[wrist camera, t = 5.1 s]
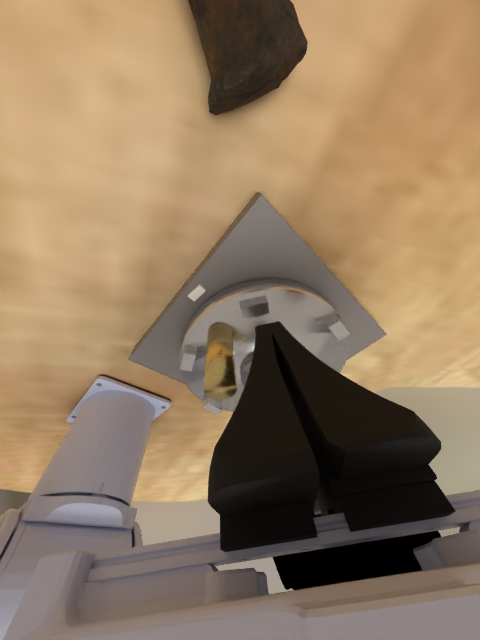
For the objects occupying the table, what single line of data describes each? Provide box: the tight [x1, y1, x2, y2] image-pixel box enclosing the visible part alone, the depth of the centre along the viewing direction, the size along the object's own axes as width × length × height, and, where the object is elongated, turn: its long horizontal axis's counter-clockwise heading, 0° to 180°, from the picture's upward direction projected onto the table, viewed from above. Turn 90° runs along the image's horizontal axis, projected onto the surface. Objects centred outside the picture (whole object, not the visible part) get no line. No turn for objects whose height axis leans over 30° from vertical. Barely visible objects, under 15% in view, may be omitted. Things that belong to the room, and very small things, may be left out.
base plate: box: [128, 192, 386, 384], centre depth 18 cm, size 16×16×2 cm
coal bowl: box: [273, 500, 441, 590], centre depth 25 cm, size 20×20×19 cm
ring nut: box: [179, 278, 350, 414], centre depth 15 cm, size 13×13×6 cm
